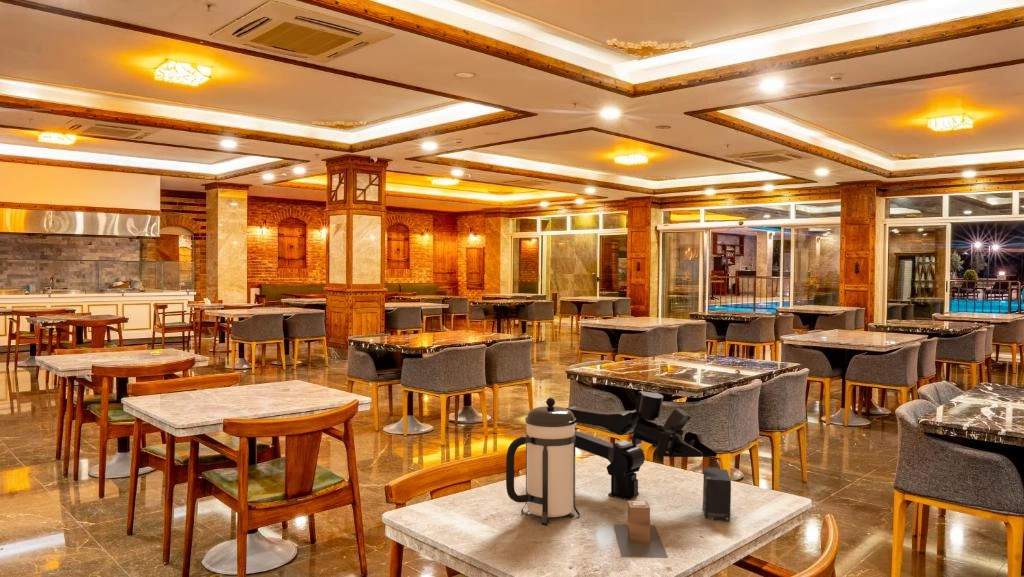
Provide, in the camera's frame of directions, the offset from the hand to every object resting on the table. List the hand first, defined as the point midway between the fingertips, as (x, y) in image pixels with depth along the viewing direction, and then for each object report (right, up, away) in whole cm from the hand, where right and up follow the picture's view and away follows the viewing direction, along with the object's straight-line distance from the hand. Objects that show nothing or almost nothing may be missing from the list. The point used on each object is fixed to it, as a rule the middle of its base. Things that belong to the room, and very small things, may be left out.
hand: (709, 454), depth 179 cm
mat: (-21, -16, -17) cm, 31 cm away
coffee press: (-41, -16, -1) cm, 44 cm away
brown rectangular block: (-21, -15, -16) cm, 30 cm away
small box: (+2, -16, +2) cm, 16 cm away
